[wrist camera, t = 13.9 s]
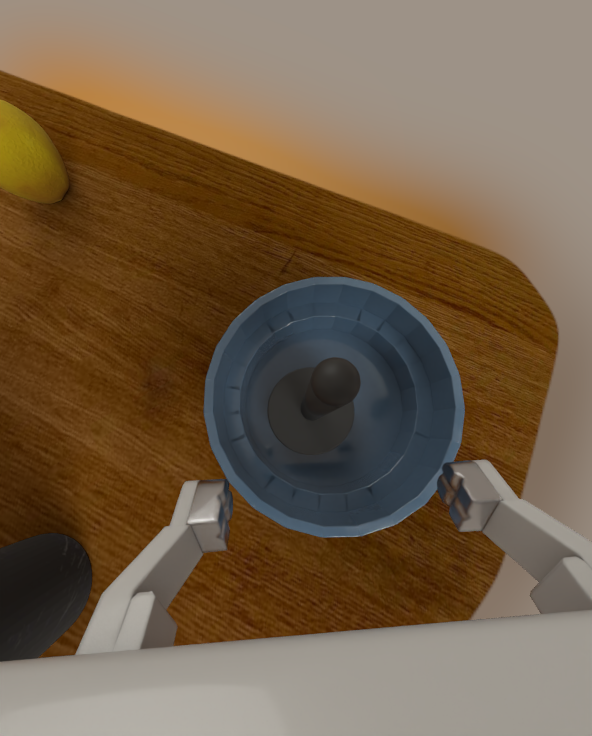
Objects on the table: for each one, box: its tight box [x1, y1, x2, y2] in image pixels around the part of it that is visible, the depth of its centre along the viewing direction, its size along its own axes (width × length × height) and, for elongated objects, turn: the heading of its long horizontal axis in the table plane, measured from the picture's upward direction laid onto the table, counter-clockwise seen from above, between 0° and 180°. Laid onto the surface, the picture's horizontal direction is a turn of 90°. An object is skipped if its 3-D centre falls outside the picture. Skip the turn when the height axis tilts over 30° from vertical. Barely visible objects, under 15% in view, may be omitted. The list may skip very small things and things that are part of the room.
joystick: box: [268, 357, 361, 455], centre depth 16 cm, size 6×6×15 cm
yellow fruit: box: [0, 100, 70, 204], centre depth 24 cm, size 6×6×8 cm
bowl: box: [204, 277, 465, 537], centre depth 21 cm, size 16×16×6 cm
